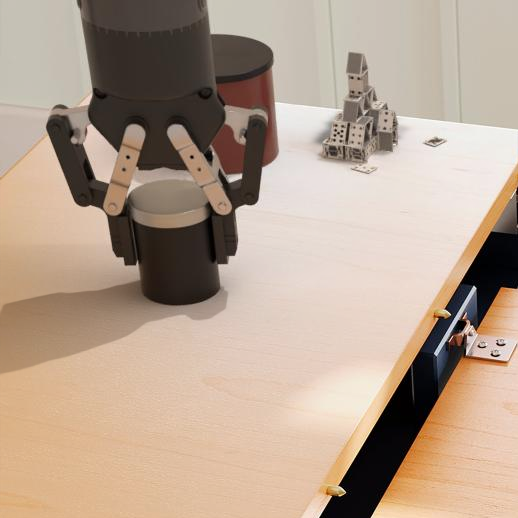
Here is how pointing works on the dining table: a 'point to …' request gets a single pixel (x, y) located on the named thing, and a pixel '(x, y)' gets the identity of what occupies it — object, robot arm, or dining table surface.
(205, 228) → the black lidded canister
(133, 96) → the robot arm
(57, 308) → the dining table surface
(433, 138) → the house of cards
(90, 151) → the dining table surface
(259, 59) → the tin
